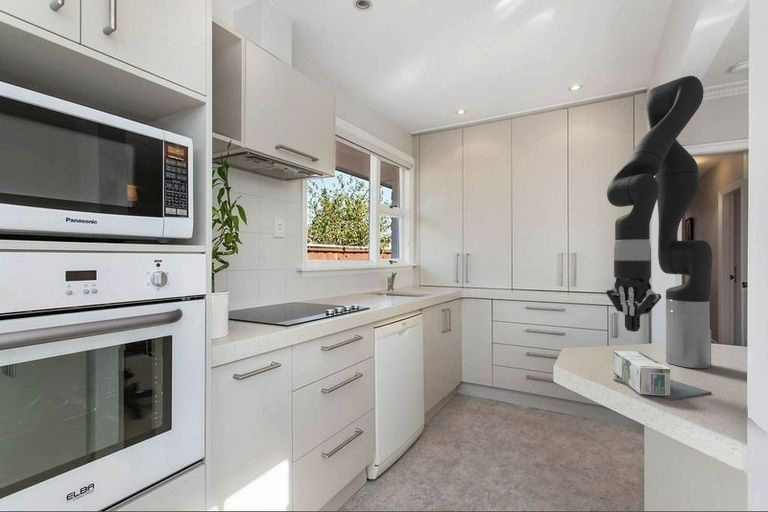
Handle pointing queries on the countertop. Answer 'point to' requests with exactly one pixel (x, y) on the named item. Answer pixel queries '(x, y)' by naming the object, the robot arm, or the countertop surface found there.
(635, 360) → the syrup box
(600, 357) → the countertop surface
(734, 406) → the countertop surface
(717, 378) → the countertop surface
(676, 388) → the mat
